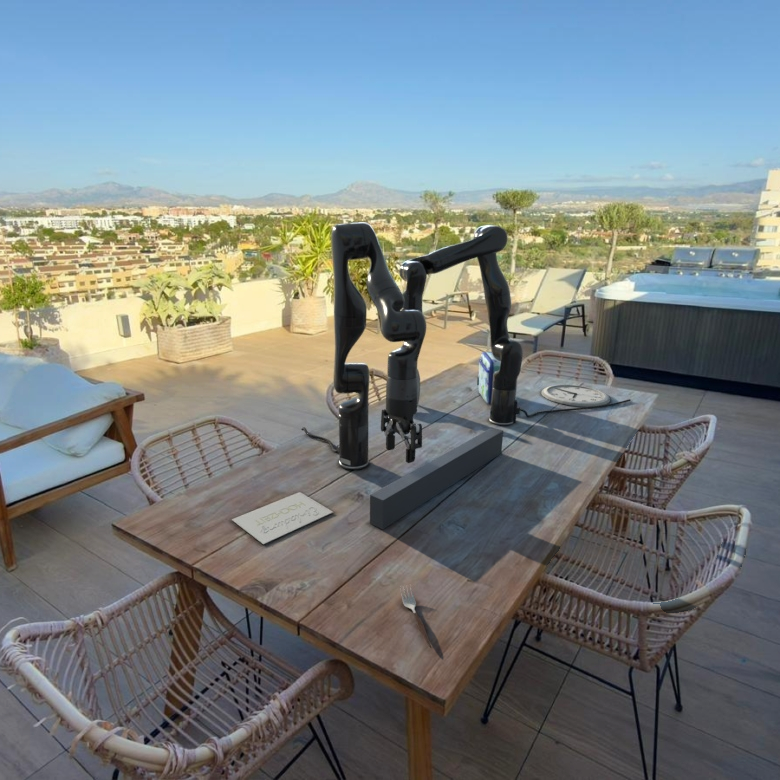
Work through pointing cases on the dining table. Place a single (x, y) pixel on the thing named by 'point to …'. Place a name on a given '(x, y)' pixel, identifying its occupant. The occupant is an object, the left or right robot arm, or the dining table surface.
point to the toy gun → (418, 386)
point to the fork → (411, 605)
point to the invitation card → (281, 517)
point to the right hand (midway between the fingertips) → (410, 366)
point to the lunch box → (487, 375)
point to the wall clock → (575, 395)
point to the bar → (433, 478)
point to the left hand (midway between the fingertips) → (400, 455)
